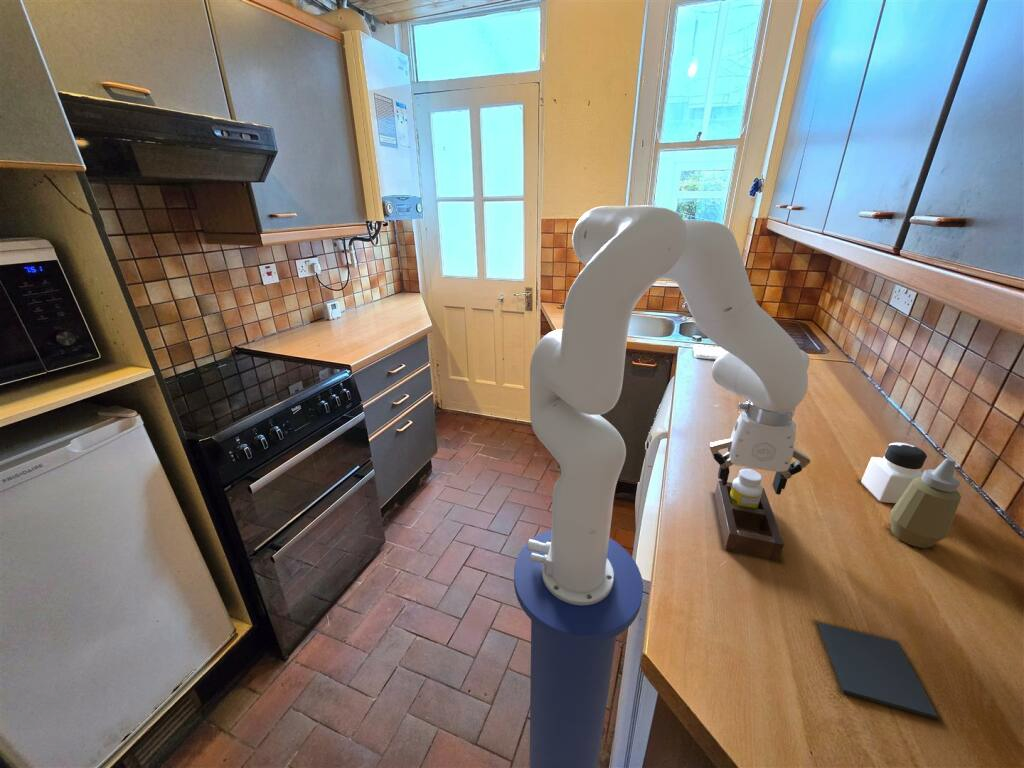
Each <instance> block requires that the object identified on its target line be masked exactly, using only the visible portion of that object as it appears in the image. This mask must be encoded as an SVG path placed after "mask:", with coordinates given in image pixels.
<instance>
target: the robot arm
mask: <svg viewBox="0 0 1024 768" xmlns="http://www.w3.org/2000/svg"><path fill="white" fill-rule="evenodd" d="M571 242H572V248H573V252H574V254H575V256H576V258H577V259H578V260H579V262H580V263H582V264H583V266H584V267H583V269H582V270H581V271H580V272H579V274H578V275H577V277H576V278H575V279H574V281H573V283H572V284H571V286H570V288H569V290H568V293H567V296H566V298H565V301H564V306H563V315H562V328H561V329H555V330H552V331H550V332H548V333H547V334H545V335H544V336H543V337H542V338H541V339H540V340H539V341H538V343H537V344H536V346H535V348H534V350H533V351H532V355H531V359H530V364H529V413H530V414H529V415H530V417H529V418H530V424H531V428H532V431H533V433H534V435H535V436H536V437H537V439H538V440H539V441H540V442H541V443H542V445H543V446H544V447H545V448H546V449H547V450H548V452H549V453H550V454H551V455H552V457H553V458H554V459H555V461H556V462H557V463H558V465H559V467H560V475H559V476H558V478H557V479H556V481H555V482H554V485H553V489H552V510H551V511H552V512H551V515H552V516H551V529H552V535H551V542H546V544H545V543H541V542H539V541H536V540H532V538H529V539H528V541H527V542H528V548H527V549H528V550H530V551H534V552H540V553H544V556H542V555H539V554H536V553H532V554H531V559H530V560H531V561H534V562H540V563H542V578H543V581H544V583H545V586H546V587H547V588H548V590H549V591H550V592H551V593H552V594H553V595H554V596H556V597H557V598H558V599H560V600H562V601H564V602H566V603H570V604H573V605H581V606H582V605H591V604H595V603H597V602H599V601H601V600H603V599H604V598H605V597H607V595H608V594H609V593H610V591H611V589H612V587H613V582H614V572H613V568H612V565H611V563H610V562H609V560H608V558H607V553H608V544H609V538H610V534H611V525H612V518H613V508H614V500H615V493H616V488H617V484H618V480H619V477H620V475H621V473H622V470H623V467H624V464H625V462H626V457H627V447H626V443H625V441H624V438H623V437H622V435H621V434H620V432H619V431H618V429H617V428H616V427H615V426H614V425H612V423H610V422H609V420H607V419H606V418H605V417H603V416H602V415H604V414H607V413H608V412H609V411H611V410H612V409H614V407H615V406H616V405H617V403H618V402H619V399H620V396H621V394H622V388H623V382H624V372H625V364H626V363H625V362H626V352H627V344H628V343H627V341H628V335H629V328H630V322H631V318H632V315H633V312H634V309H635V308H636V305H637V304H638V302H639V301H640V300H641V298H643V296H644V295H645V293H646V292H647V291H648V290H650V288H651V287H652V286H653V285H654V284H655V283H657V281H659V280H660V279H664V280H669V281H672V282H674V283H676V284H677V286H678V288H679V290H680V292H681V295H682V297H683V298H684V301H685V303H686V305H687V307H688V310H689V311H690V314H691V316H692V318H693V321H694V323H695V325H696V327H697V329H698V330H699V331H700V332H701V334H703V335H704V336H705V337H706V338H707V339H708V340H710V341H711V342H713V343H714V344H715V345H717V347H721V348H723V349H724V350H726V351H728V352H726V353H724V354H722V355H721V356H719V357H718V358H717V359H716V360H714V363H713V364H712V366H711V377H712V379H713V381H714V382H715V384H717V385H718V386H719V387H720V388H722V389H724V390H726V391H728V392H730V393H733V394H735V395H737V396H739V397H741V398H744V399H746V401H745V402H738V403H737V410H739V411H741V413H740V415H739V416H738V418H737V420H736V422H735V425H734V427H733V430H732V432H731V436H730V437H729V438H725V439H722V440H717V441H714V442H710V443H709V446H708V447H709V450H710V453H711V455H712V457H713V460H714V461H716V462H717V464H718V465H719V468H718V472H717V478H718V480H720V481H721V483H722V485H723V486H725V485H726V484H727V482H728V479H729V476H730V467H732V466H733V465H734V466H737V467H743V468H747V469H755V470H762V471H769V472H775V473H774V478H773V481H772V488H773V490H774V493H775V494H776V495H779V496H780V495H781V493H782V490H785V489H786V486H787V482H788V480H789V479H791V478H792V477H793V476H795V475H796V474H799V473H801V472H802V470H803V469H804V468H806V467H807V466H808V465H809V464H810V463H811V459H810V457H809V456H808V455H806V454H805V453H803V452H801V451H800V450H798V449H796V448H795V444H796V438H797V423H796V421H794V415H795V413H796V410H797V409H796V408H797V407H798V406H799V405H800V404H801V403H802V401H803V400H804V399H805V396H806V394H807V391H808V386H809V376H808V369H809V365H810V355H809V354H808V352H805V350H803V349H800V347H799V345H798V343H797V342H796V341H795V340H794V339H793V337H792V336H790V334H789V333H788V332H787V331H786V330H785V329H784V328H782V326H780V325H781V324H779V323H778V322H777V321H776V320H775V319H774V318H773V317H772V316H771V315H770V314H769V313H768V312H766V311H765V310H764V309H763V307H761V306H760V305H759V304H758V303H757V299H756V298H755V294H754V290H753V288H752V286H751V283H750V278H749V276H748V273H747V270H746V266H745V263H744V260H743V257H742V254H741V251H740V248H739V244H738V243H737V240H736V237H735V235H734V233H733V232H732V230H731V229H730V228H729V227H728V226H726V225H724V224H722V223H720V222H716V221H711V220H700V219H699V220H697V219H695V220H694V219H683V217H682V216H681V215H680V214H679V213H678V212H676V211H674V210H671V209H668V208H667V207H662V206H655V205H602V206H597V207H594V208H591V209H589V210H587V211H586V212H585V213H584V214H583V215H581V217H580V218H579V219H578V221H577V222H576V223H575V226H574V228H573V232H572V239H571ZM724 449H727V452H725V453H724V454H721V452H720V450H724ZM793 459H795V460H796V461H794V462H793V461H792V460H793Z"/></svg>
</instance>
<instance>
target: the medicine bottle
mask: <svg viewBox="0 0 1024 768" xmlns="http://www.w3.org/2000/svg"><path fill="white" fill-rule="evenodd" d="M927 458H928V456H927V453H926V452H925V451H924V450H922V449H921V448H919V447H917V446H915V445H913V444H909V443H906V442H891V443H889V444H888V446H887V448H886V450H885V453H884V455H883V457H878V456H871V457H870V459H869V461H868V464H867V467H866V469H865V471H864V473H863V475H862V478H861V481H860V482H861V484H862V485H863V486H864V487H865V488H866V489H867V490H868V491H869V492H870V493H871V495H873V496H874V497H875V498H876V499H877V501H878V502H879V503H885V504H886V503H887V504H889V503H890V504H896V503H897V501H898V500H899V498H900V497H901V496H902V494H903V493H904V491H905V490H906V488H907V487H908V485H909V484H910V483H911V481H912V480H913V479H914V478H919V477H922V475H923V473H924V472H923V471H921V470H922V469H923V466H924V464H925V462H926V460H927Z"/></svg>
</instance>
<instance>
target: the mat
mask: <svg viewBox="0 0 1024 768" xmlns="http://www.w3.org/2000/svg"><path fill="white" fill-rule="evenodd" d="M817 627H818V629H819V632H820V635H821V638H822V640H823V643H824V646H825V649H826V651H827V654H828V656H829V659H830V662H831V664H832V667H833V669H834V673H835V675H836V677H837V681H838V683H839V686H840V688H841V691H842V693H843V694H846V695H850V696H854V697H856V698H860V699H864V700H868V701H871V702H875V703H878V704H882V705H884V706H888V707H892V708H896V709H899V710H902V711H907V712H909V713H913V714H917V715H920V716H923V717H926V718H930V719H934V720H937V719H938V718H939V715H938V714H937V711H936V710H935V707H934V706H933V704H932V702H931V700H930V699H929V696H928V694H927V693H926V691H925V689H924V687H923V686H922V683H921V681H920V680H919V678H918V676H917V674H916V673H915V671H914V669H913V667H912V665H911V663H910V661H909V660H908V658H907V655H906V654H905V652H904V650H903V649H902V647H901V645H900V643H899V641H896V640H893V639H888V638H884V637H880V636H877V635H872V634H868V633H864V632H859V631H856V630H852V629H848V628H843V627H839V626H836V625H832V624H828V623H824V622H817Z"/></svg>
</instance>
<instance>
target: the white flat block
mask: <svg viewBox="0 0 1024 768" xmlns="http://www.w3.org/2000/svg"><path fill="white" fill-rule="evenodd" d="M699 345H700V346H701V347H700V346H699ZM698 346H699V347H698ZM709 346H710V347H709ZM713 346H714V345H705V346H704V344H693V356H694V358H697V359H704V360H705V359H706V360H714V361H716V359H717V358H718V357H719V356H721V355H722V354H724V353H726V352H728V351H726V350H724V349H723V348H721V347H720V346H715V347H713Z"/></svg>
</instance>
